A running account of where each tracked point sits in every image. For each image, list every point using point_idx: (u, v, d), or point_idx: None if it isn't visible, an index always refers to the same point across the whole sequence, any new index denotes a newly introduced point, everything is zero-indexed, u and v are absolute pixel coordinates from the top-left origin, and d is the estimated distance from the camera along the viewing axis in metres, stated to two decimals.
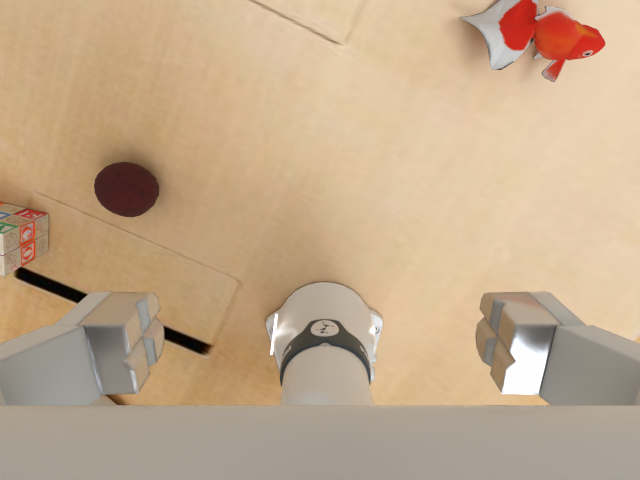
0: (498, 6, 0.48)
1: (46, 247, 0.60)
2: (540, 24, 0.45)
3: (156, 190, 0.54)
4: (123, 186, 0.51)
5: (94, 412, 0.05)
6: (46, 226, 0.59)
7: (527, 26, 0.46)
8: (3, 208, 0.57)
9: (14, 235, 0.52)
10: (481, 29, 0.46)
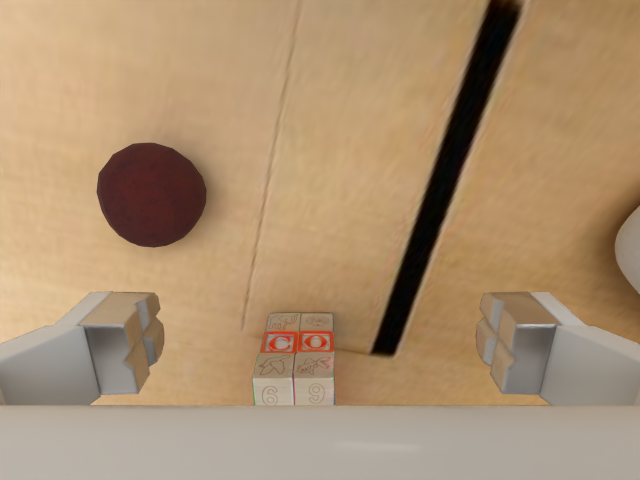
0: None
1: (325, 315, 0.38)
2: None
3: (134, 145, 0.29)
4: (112, 197, 0.27)
5: (94, 412, 0.05)
6: (287, 316, 0.37)
7: None
8: None
9: (268, 361, 0.31)
10: None
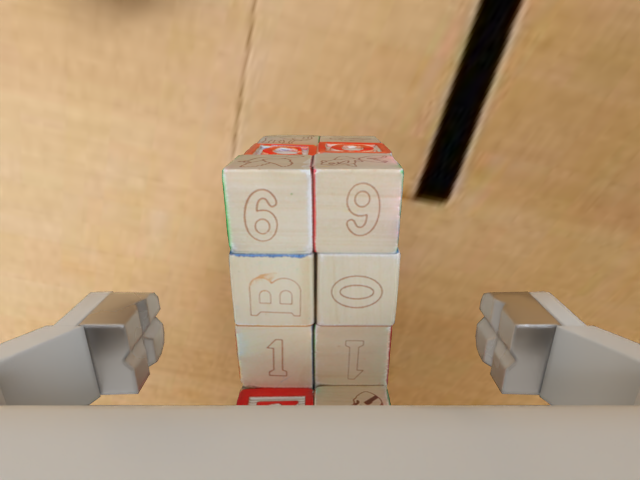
0: None
1: (362, 136, 0.21)
2: None
3: None
4: None
5: (94, 412, 0.05)
6: (295, 136, 0.21)
7: None
8: None
9: (258, 158, 0.15)
10: None
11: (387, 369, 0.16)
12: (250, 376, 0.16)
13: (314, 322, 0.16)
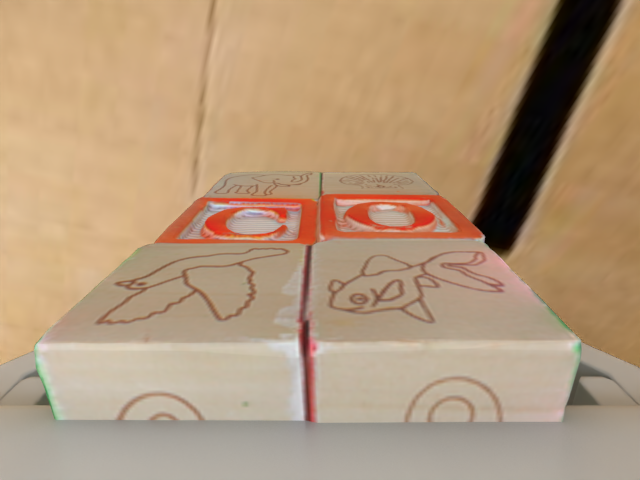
0: None
1: (395, 174, 0.12)
2: None
3: None
4: None
5: None
6: (279, 175, 0.12)
7: None
8: None
9: (176, 267, 0.06)
10: None
11: None
12: None
13: None
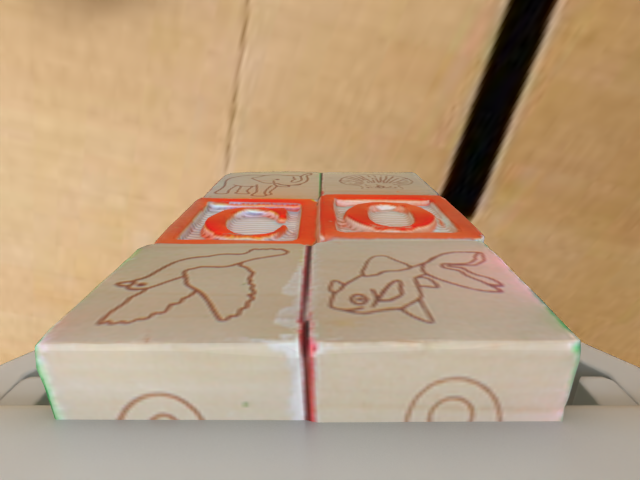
0: None
1: (395, 174, 0.12)
2: None
3: None
4: None
5: None
6: (279, 175, 0.12)
7: None
8: None
9: (176, 267, 0.06)
10: None
11: None
12: None
13: None
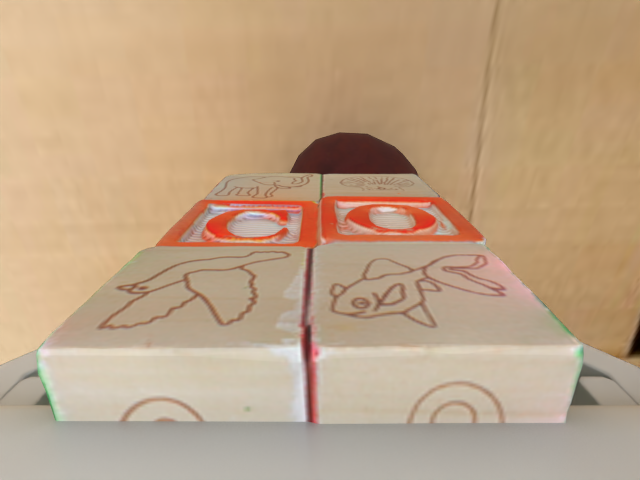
0: None
1: (396, 176, 0.12)
2: None
3: (321, 140, 0.20)
4: None
5: None
6: (280, 177, 0.12)
7: None
8: None
9: (178, 270, 0.06)
10: None
11: None
12: None
13: None
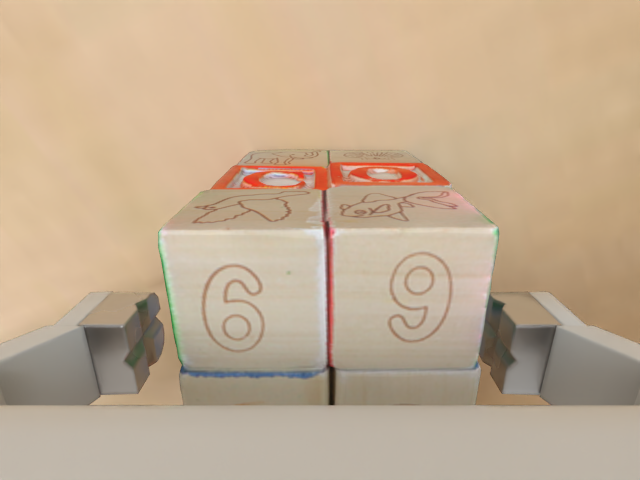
0: None
1: (389, 151, 0.15)
2: None
3: None
4: None
5: (94, 411, 0.05)
6: (294, 152, 0.15)
7: None
8: None
9: (233, 200, 0.09)
10: None
11: None
12: None
13: None
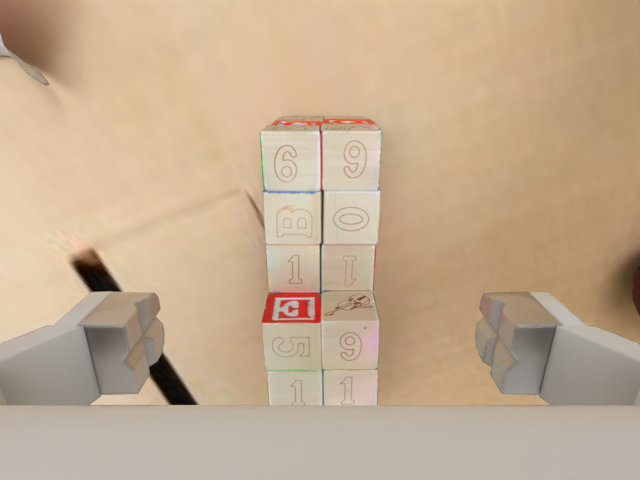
0: None
1: (356, 117, 0.28)
2: None
3: None
4: None
5: (93, 412, 0.05)
6: (305, 116, 0.28)
7: None
8: None
9: (282, 127, 0.22)
10: (0, 38, 0.22)
11: (373, 278, 0.23)
12: (275, 284, 0.23)
13: (321, 242, 0.22)
